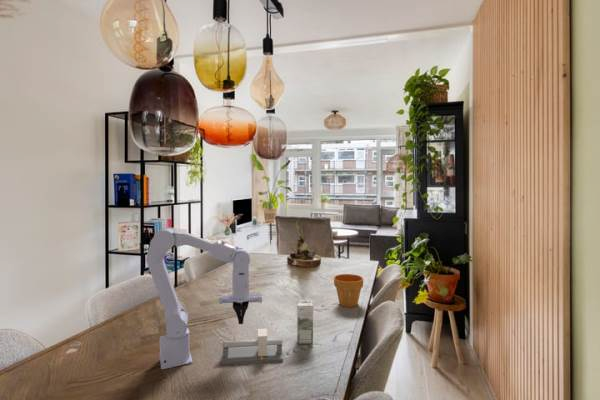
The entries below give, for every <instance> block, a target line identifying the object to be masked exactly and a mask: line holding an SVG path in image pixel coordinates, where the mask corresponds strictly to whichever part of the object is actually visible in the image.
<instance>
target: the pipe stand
mask: <svg viewBox="0 0 600 400" xmlns="http://www.w3.org/2000/svg"><path fill="white" fill-rule="evenodd" d="M221 347H222V358H221V361H220V365H221V366H229V365H230V366H231V365H246V364H262V363H280V362H282V363H283V362H284V358H283V357H284V356H283V338H267V356H258V339H248V340H245V339H244V340H229V341H228V340H227V341H222V343H221Z"/></svg>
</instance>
